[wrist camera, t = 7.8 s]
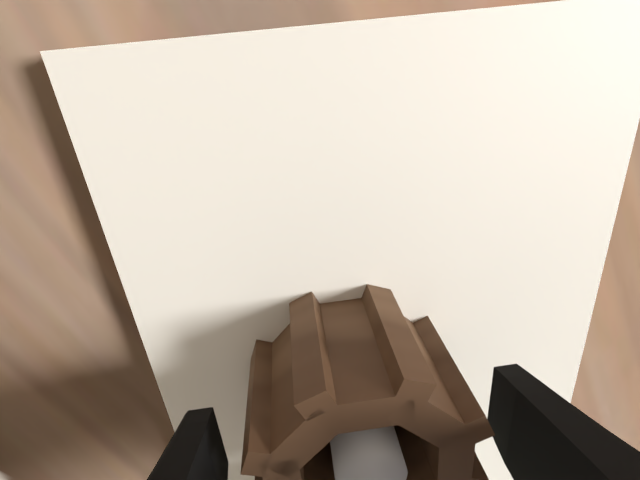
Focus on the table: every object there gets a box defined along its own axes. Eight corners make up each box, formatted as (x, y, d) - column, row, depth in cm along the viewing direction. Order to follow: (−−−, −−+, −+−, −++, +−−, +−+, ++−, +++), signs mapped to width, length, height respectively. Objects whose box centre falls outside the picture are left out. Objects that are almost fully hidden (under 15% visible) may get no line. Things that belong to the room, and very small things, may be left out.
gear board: (632, -4, 9) (1039, -73, 4) (524, 515, 18) (619, 692, 13) (64, 51, 9) (-221, 45, 4) (232, 562, 17) (214, 768, 12)
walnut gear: (438, 274, 11) (504, 364, 8) (433, 416, 13) (482, 531, 10) (238, 301, 11) (221, 406, 7) (268, 441, 13) (265, 567, 10)
